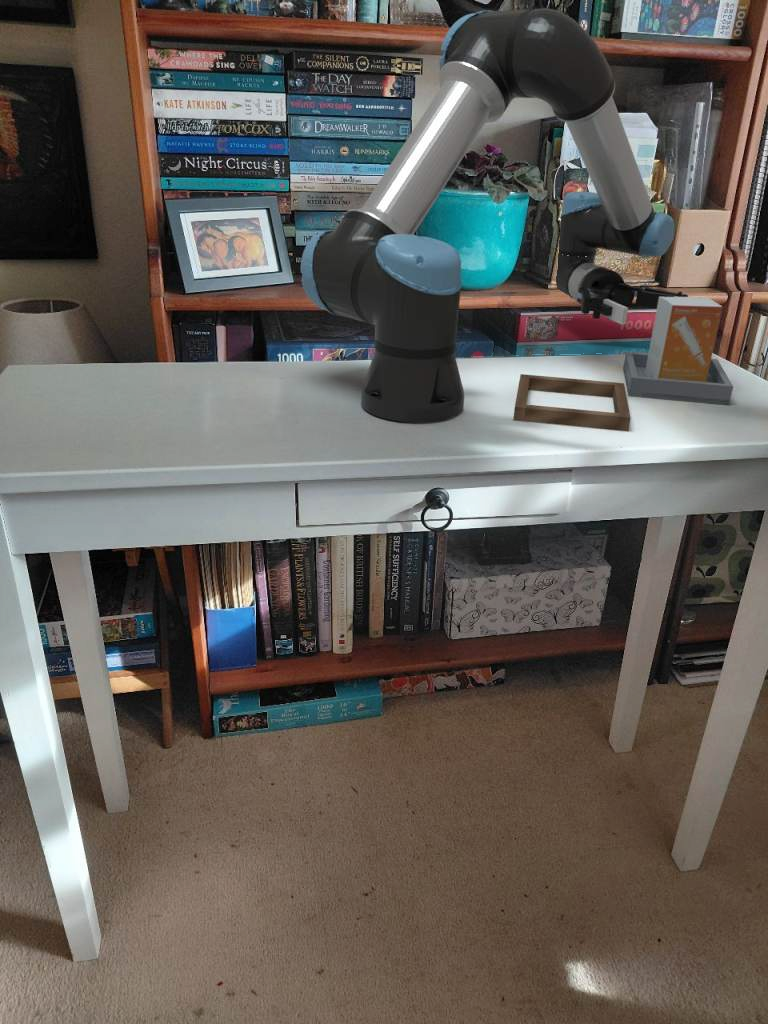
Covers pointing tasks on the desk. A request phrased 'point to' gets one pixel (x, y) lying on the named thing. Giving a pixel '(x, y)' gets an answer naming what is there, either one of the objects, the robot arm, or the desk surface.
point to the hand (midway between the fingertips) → (661, 314)
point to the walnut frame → (573, 416)
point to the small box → (683, 338)
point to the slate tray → (676, 383)
